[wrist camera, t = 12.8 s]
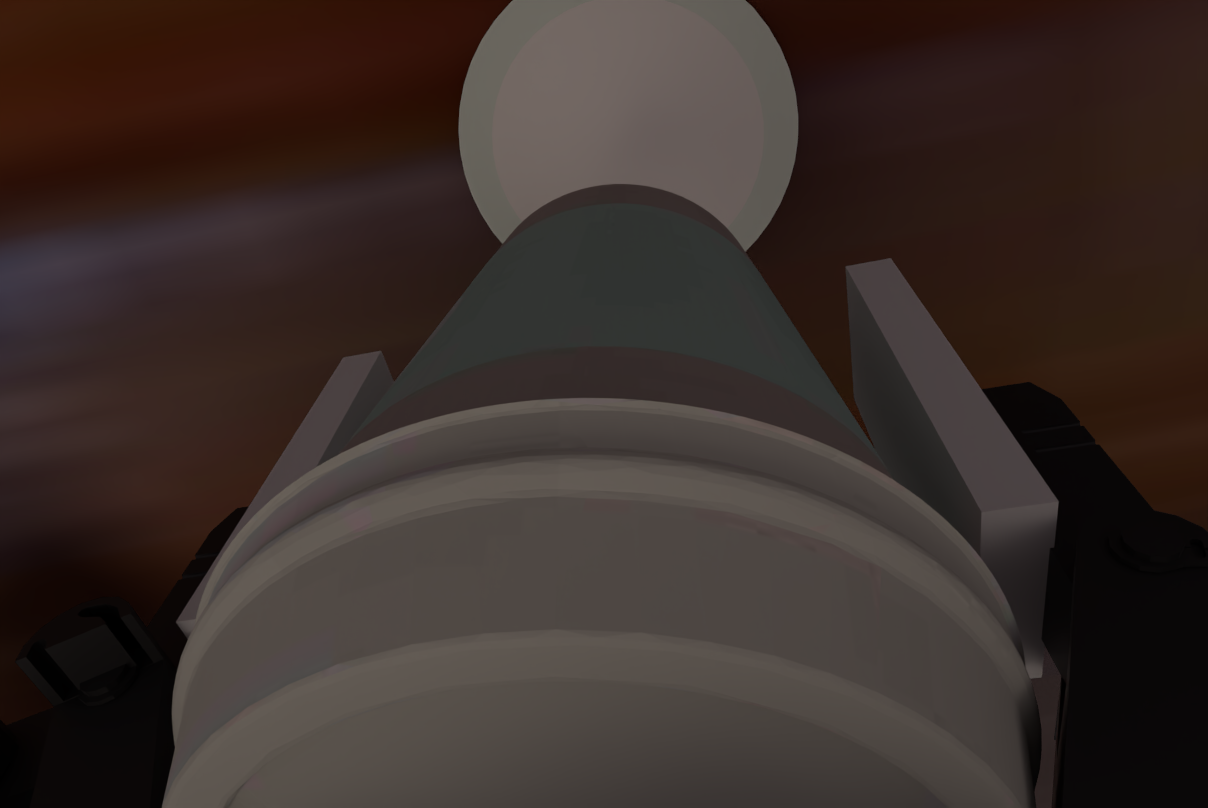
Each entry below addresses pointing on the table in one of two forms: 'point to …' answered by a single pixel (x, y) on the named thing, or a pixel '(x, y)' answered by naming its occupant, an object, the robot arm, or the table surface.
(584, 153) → the pad
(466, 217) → the table surface
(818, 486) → the coffee cup
